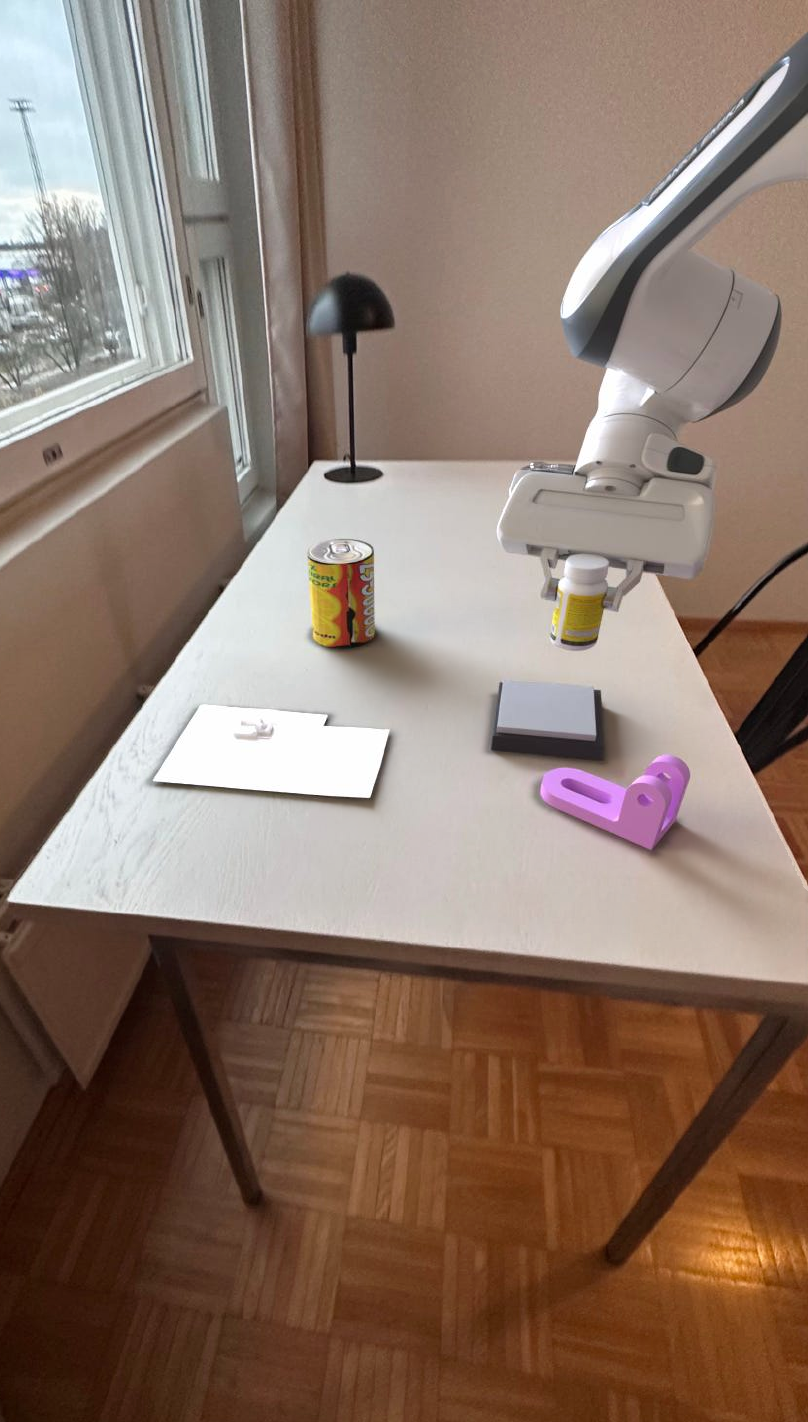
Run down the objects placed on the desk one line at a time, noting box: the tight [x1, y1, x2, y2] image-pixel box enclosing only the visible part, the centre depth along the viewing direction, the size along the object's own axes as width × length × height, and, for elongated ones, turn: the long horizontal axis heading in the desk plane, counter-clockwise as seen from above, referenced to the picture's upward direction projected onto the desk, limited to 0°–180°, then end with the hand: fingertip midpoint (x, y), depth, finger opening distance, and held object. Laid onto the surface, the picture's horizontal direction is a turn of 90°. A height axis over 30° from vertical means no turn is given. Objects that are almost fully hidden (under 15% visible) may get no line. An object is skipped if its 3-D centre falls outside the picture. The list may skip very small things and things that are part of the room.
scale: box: [490, 679, 606, 761], centre depth 85 cm, size 12×12×3 cm
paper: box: [152, 704, 390, 799], centre depth 84 cm, size 25×17×1 cm
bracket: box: [539, 754, 691, 851], centre depth 72 cm, size 13×6×7 cm, turn 48°
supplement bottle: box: [549, 554, 609, 652], centre depth 73 cm, size 5×5×8 cm
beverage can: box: [306, 538, 376, 649], centre depth 102 cm, size 9×9×12 cm
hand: (578, 603), depth 72 cm, fingers closed on supplement bottle, 5 cm apart
